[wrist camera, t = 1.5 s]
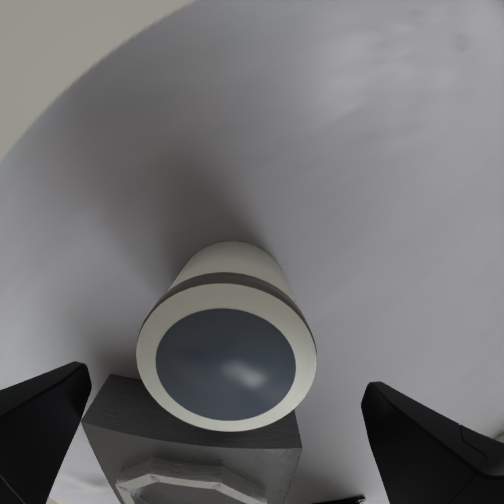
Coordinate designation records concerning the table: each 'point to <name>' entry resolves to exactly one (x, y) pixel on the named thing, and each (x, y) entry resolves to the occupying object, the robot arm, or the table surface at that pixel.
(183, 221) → the table surface
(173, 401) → the lens
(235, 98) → the table surface
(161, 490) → the octagonal rim base plate
